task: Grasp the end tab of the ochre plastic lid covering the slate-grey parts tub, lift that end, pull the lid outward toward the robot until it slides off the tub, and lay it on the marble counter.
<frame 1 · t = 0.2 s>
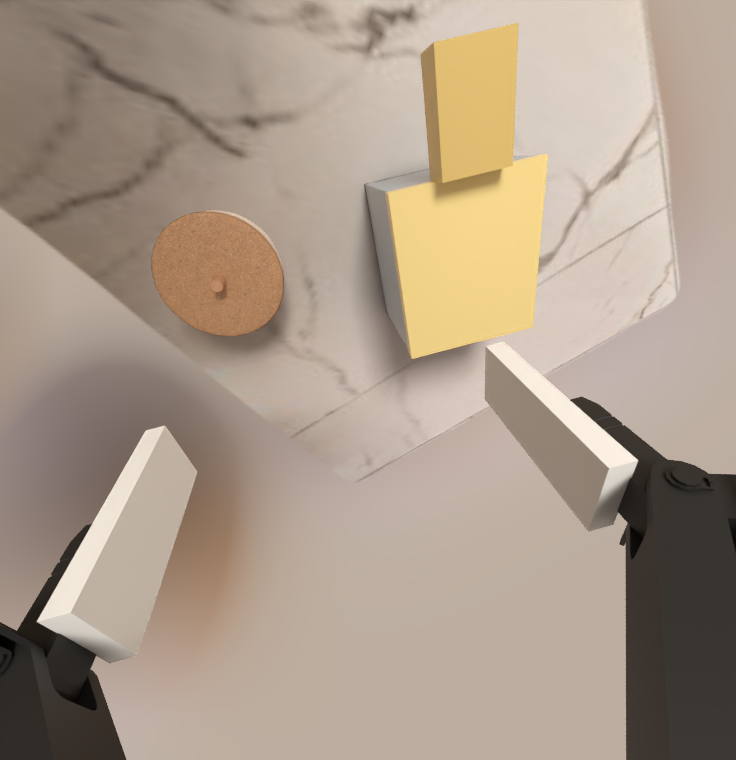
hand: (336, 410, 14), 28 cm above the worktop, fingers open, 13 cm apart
lidded jar: (234, 259, 36), on the worktop
tub: (428, 242, 38), on the worktop
lid: (466, 267, 29), point 11 cm above the worktop, touching tub
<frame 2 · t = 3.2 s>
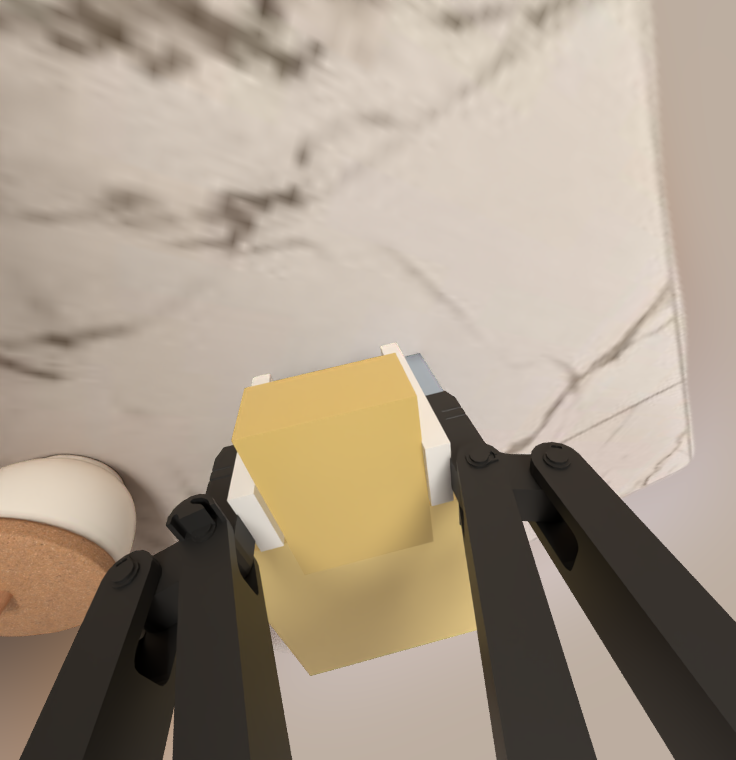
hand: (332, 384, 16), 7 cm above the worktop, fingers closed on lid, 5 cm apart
lidded jar: (79, 481, 26), on the worktop
tub: (357, 443, 28), on the worktop
lid: (383, 581, 19), point 11 cm above the worktop, touching gripper, tub
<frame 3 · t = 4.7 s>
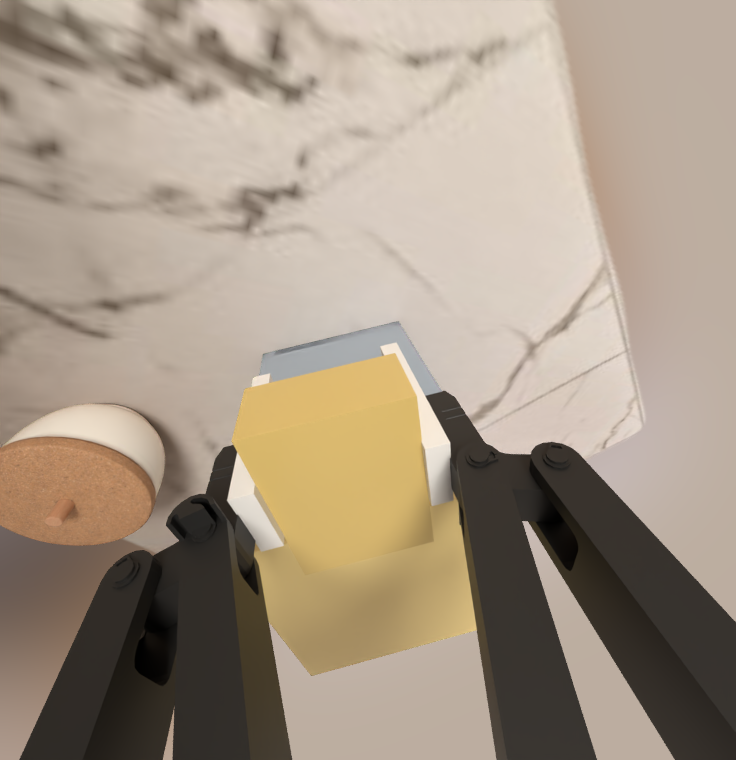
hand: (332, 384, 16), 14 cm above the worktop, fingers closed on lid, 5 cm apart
lidded jar: (116, 429, 31), on the worktop
tub: (348, 400, 33), on the worktop
lid: (383, 581, 19), point 17 cm above the worktop, touching gripper
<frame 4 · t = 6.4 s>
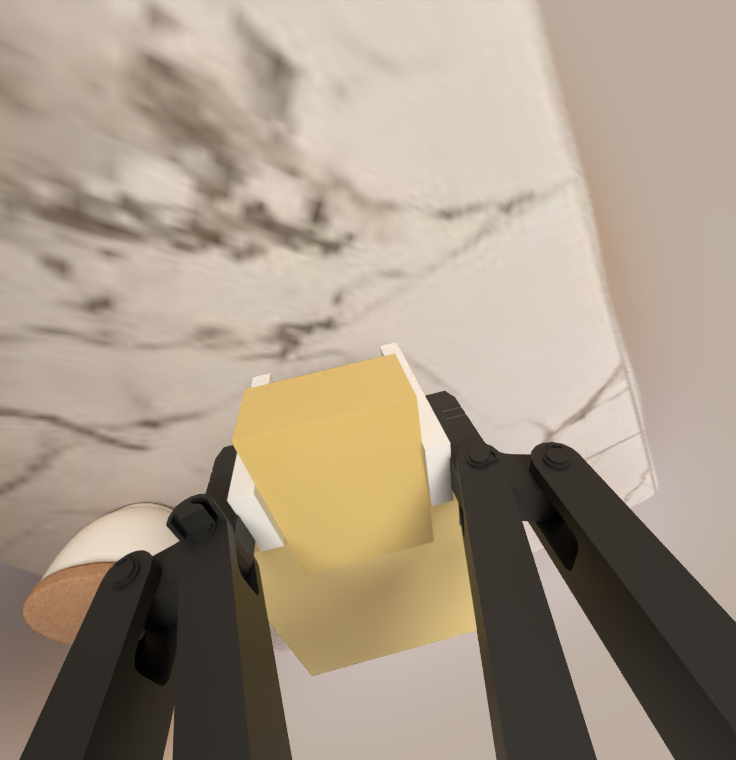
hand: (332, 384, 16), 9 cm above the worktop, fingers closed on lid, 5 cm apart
lidded jar: (150, 522, 32), on the worktop
lid: (384, 581, 19), point 13 cm above the worktop, touching gripper
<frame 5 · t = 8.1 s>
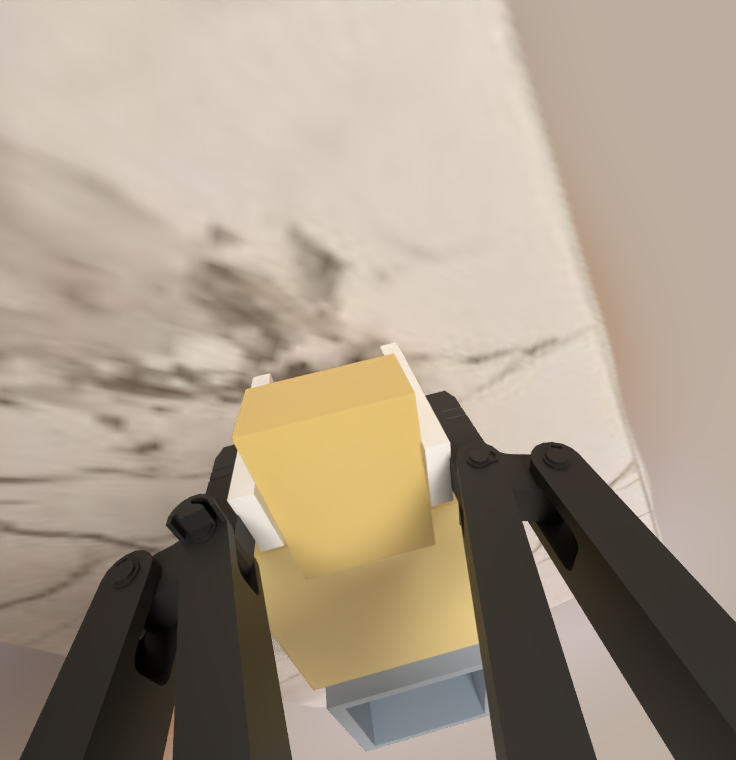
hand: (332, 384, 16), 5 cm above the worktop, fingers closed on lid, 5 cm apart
tub: (392, 570, 36), on the worktop
lid: (386, 589, 18), point 9 cm above the worktop, touching gripper
when the fingers open (3 cm above the worktop, at t = 9.6 s): lid drops 7 cm, on the worktop.
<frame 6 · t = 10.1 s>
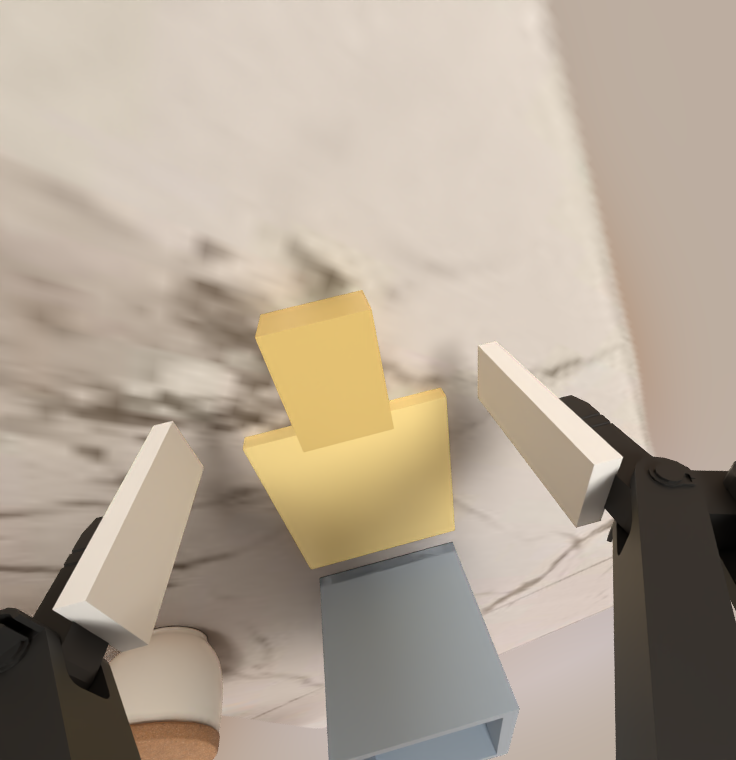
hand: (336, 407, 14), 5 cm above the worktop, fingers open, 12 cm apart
lidded jar: (172, 639, 31), on the worktop
tub: (397, 596, 34), on the worktop
lid: (365, 485, 24), on the worktop
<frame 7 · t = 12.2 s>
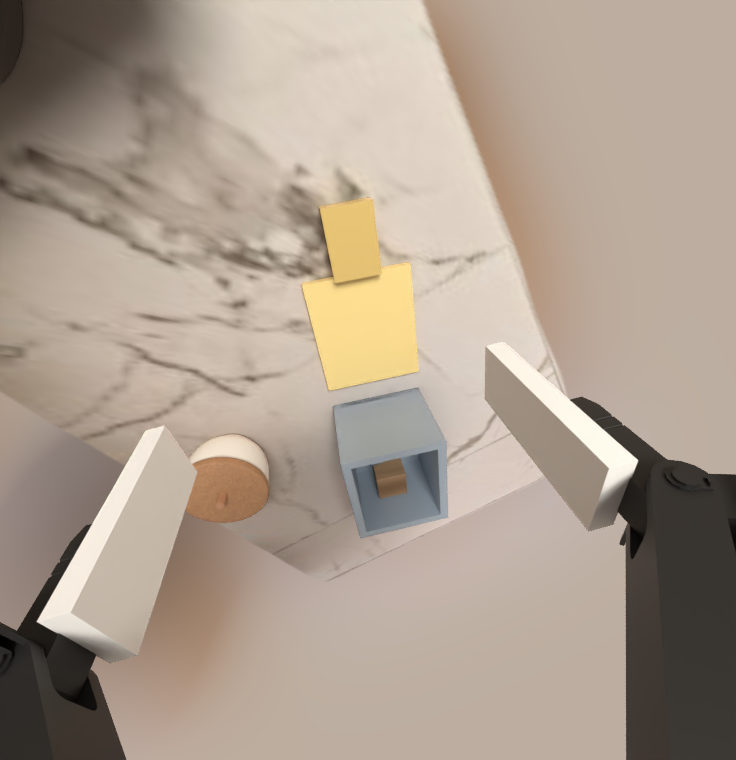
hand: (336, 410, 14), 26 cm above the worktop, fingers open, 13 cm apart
walnut part: (383, 455, 52), point 1 cm above the worktop, touching tub
lidded jar: (234, 449, 48), on the worktop
tub: (382, 434, 50), on the worktop
lid: (364, 329, 41), on the worktop
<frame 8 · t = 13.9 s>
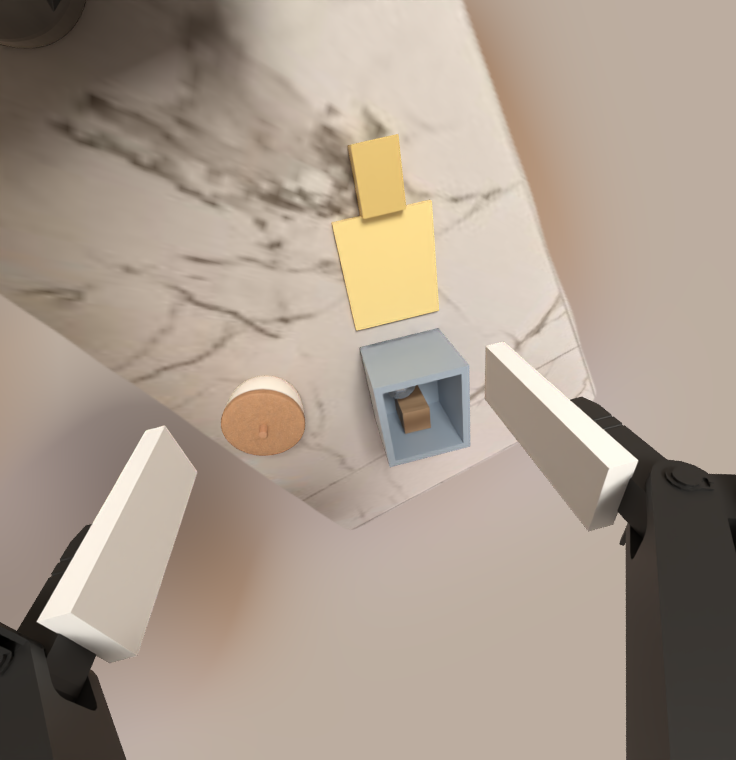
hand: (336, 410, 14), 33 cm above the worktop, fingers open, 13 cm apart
walnut part: (406, 397, 55), point 1 cm above the worktop, touching tub
steel part: (391, 365, 51), point 1 cm above the worktop, touching tub
lidded jar: (268, 392, 51), on the worktop
tub: (404, 376, 54), on the worktop
lid: (389, 269, 44), on the worktop
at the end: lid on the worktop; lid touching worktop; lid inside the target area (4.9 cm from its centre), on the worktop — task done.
